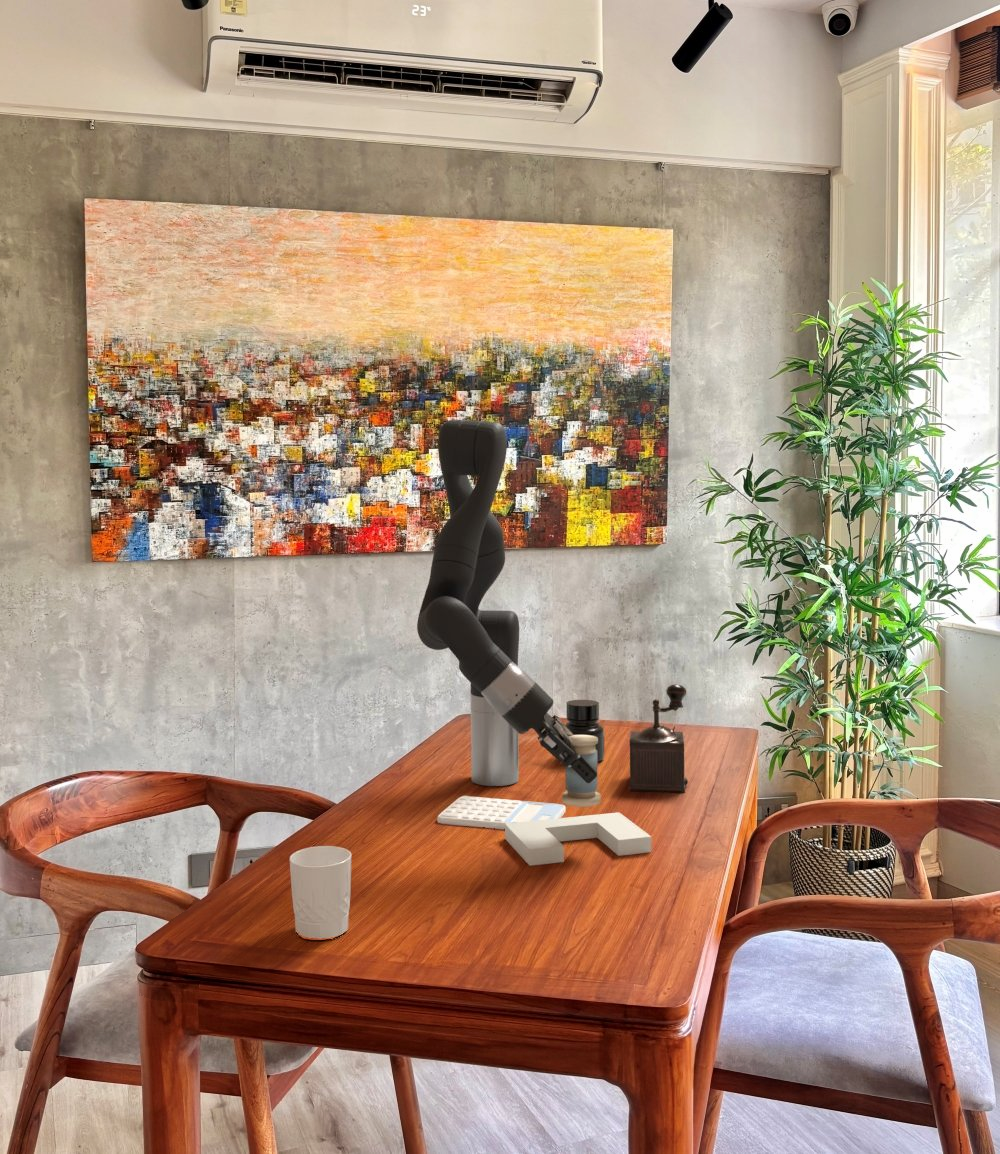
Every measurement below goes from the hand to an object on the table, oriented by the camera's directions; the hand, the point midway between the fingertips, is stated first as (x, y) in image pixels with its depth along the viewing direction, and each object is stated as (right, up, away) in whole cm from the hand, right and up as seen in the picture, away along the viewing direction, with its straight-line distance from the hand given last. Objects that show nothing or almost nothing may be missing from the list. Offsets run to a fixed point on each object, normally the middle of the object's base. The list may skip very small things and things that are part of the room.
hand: (593, 774), depth 169 cm
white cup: (-38, -15, -29) cm, 50 cm away
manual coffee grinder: (+16, -9, +40) cm, 44 cm away
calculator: (-14, -11, +19) cm, 26 cm away
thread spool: (-2, -4, 0) cm, 5 cm away
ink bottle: (+3, -7, +57) cm, 57 cm away
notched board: (-2, -12, +3) cm, 13 cm away
